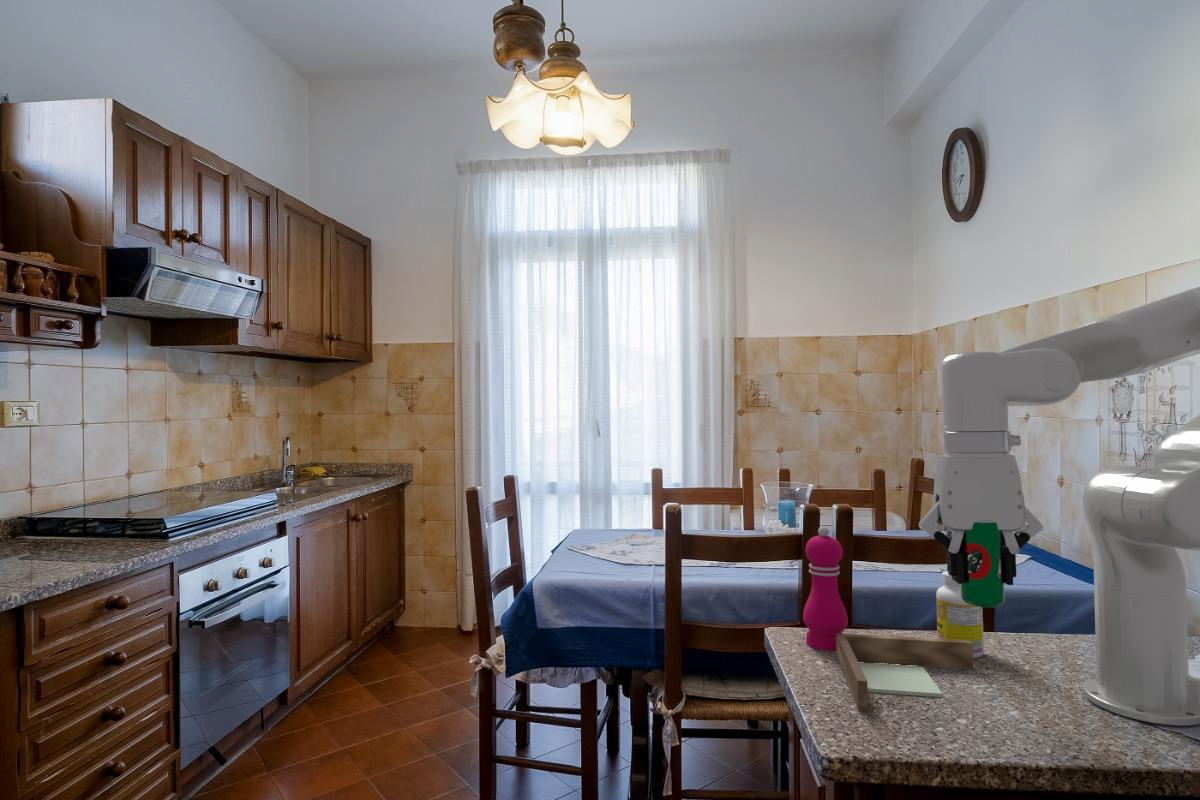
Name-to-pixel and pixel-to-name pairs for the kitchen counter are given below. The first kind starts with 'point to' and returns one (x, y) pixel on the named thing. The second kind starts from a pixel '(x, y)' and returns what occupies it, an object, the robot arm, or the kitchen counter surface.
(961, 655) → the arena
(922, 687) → the pad
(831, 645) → the pepper mill
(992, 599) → the soda can
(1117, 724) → the kitchen counter surface
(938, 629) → the supplement bottle
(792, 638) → the kitchen counter surface
